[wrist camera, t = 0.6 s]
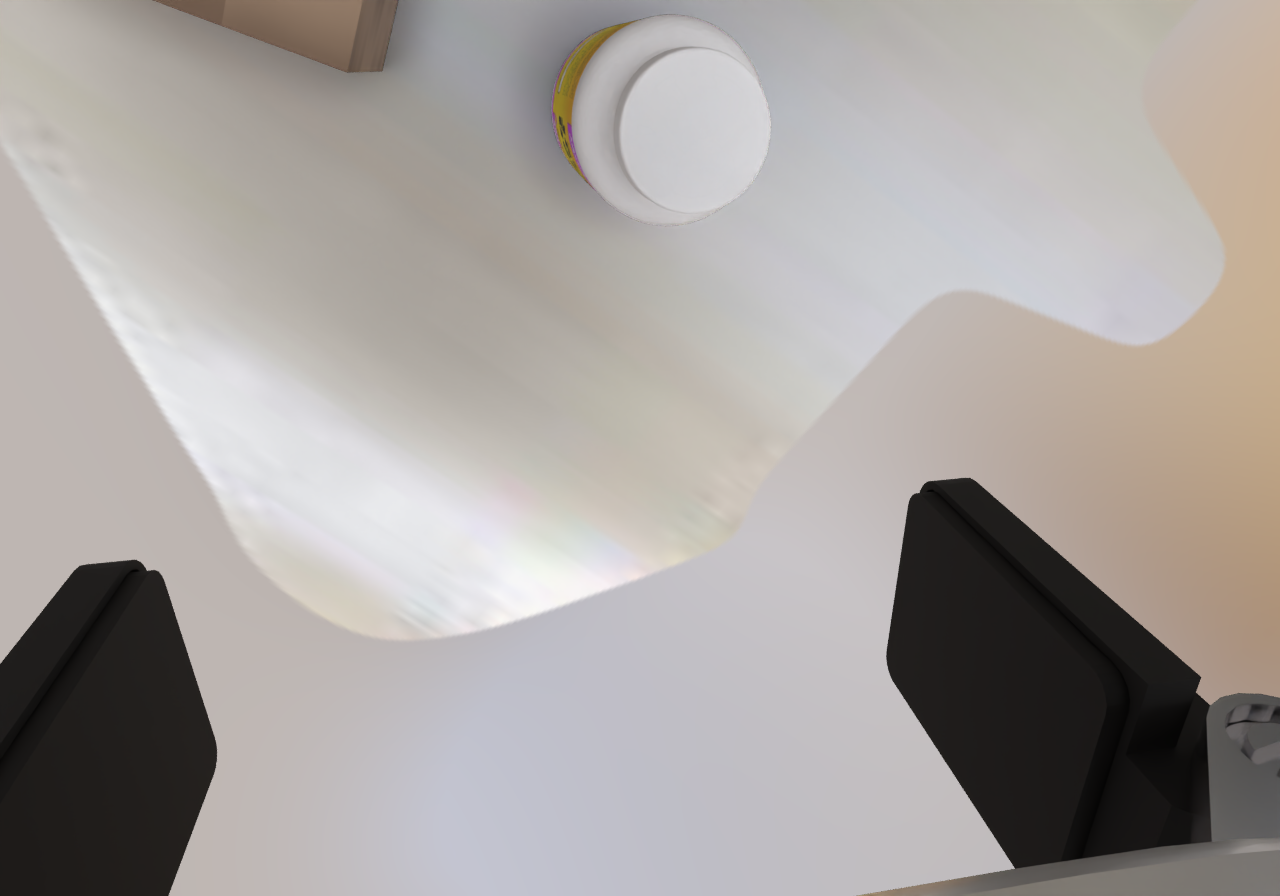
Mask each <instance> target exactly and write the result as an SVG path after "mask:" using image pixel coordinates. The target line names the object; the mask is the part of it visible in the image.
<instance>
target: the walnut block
mask: <svg viewBox="0 0 1280 896" xmlns="http://www.w3.org/2000/svg"><path fill="white" fill-rule="evenodd" d="M154 1H156V2H159V3H162V4H164V5H167V6H170V7H172V8H175V9H178V10H180V11H183V12H186V13H189V14H191V15H194V16H197V17H199V18H202V19H205V20H207V21H210V22H213V23H215V24H218V25H221V26H223V27H226V28H229V29H232V30H234V31H237V32H240V33H242V34H245V35H248V36H250V37H253V38H256V39H258V40H261V41H264V42H267V43H269V44H272V45H275V46H277V47H280V48H283V49H285V50H288V51H291V52H293V53H296V54H299V55H302V56H304V57H307V58H310V59H312V60H315V61H318V62H320V63H323V64H326V65H328V66H331V67H334V68H336V69H339V70H342V71H345V72H373V71H382V70H383V65H384V61H385V57H386V52H387V48H388V44H389V39H390V35H391V31H392V26H393V22H394V17H395V13H396V9H397V4H398V0H154Z"/></svg>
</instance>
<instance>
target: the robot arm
mask: <svg viewBox="0 0 1280 896" xmlns="http://www.w3.org/2000/svg"><path fill="white" fill-rule="evenodd" d="M886 657H887V666H888V670H889V673H890V676H891V678H892V680H893V682H894V683H895V685H896V687H897V688H898V689H899V691H900V692H901V694H902V696H903V697H904V699H905V700H906V702H907V703H908V705H909V706H910V708H911V709H912V711H913V713H914V714H915V716H916V717H917V719H918V720H919V722H920V723H921V725H922V726H923V728H924V729H925V731H926V732H927V734H928V736H929V737H930V738H931V740H932V742H933V743H934V745H935V746H936V748H937V749H938V751H939V752H940V754H941V755H942V757H943V759H944V760H945V762H946V763H947V765H948V766H949V768H950V769H951V771H952V772H953V774H954V775H955V777H956V779H957V780H958V782H959V783H960V785H961V786H962V788H963V789H964V791H965V792H966V794H967V795H968V797H969V798H970V800H971V801H972V803H973V804H974V806H975V808H976V809H977V811H978V812H979V814H980V815H981V817H982V818H983V820H984V822H985V823H986V825H987V826H988V828H989V829H990V831H991V832H992V834H993V835H994V837H995V838H996V840H997V841H998V843H999V844H1000V846H1001V848H1002V849H1003V851H1004V852H1005V854H1006V855H1007V857H1008V858H1009V860H1010V861H1011V863H1012V864H1013V866H1014V868H1015V869H1011V870H1005V871H1000V872H994V873H988V874H983V875H976V876H970V877H964V878H958V879H953V880H946V881H941V882H935V883H929V884H923V885H917V886H911V887H906V888H900V889H893V890H887V891H881V892H876V893H870V894H864V895H858V896H1280V698H1278V697H1273V696H1268V695H1263V694H1245V693H1244V694H1243V693H1238V694H1233V695H1229V696H1224V697H1221V698H1219V699H1218V700H1217V701H1216V702H1214V703H1213V704H1212V705H1209V704H1208V703H1207V702H1206V701H1205V700H1204V699H1203V698H1201V697H1200V696H1199V695H1198V694H1197V693H1196V690H1197V687H1198V685H1199V682H1200V679H1201V677H1200V676H1199V675H1198V674H1197V673H1196V672H1195V671H1193V670H1192V669H1191V668H1190V667H1189V666H1188V665H1186V664H1185V663H1184V662H1183V661H1182V660H1181V659H1180V658H1178V657H1177V656H1176V655H1175V654H1174V653H1173V652H1172V651H1170V650H1169V649H1168V648H1167V647H1165V645H1164V644H1162V643H1161V642H1160V641H1159V640H1158V639H1157V638H1156V637H1154V636H1153V635H1152V634H1151V633H1150V632H1149V631H1147V630H1146V629H1145V628H1144V627H1143V626H1142V625H1140V624H1139V623H1138V622H1137V621H1136V620H1135V619H1134V618H1132V617H1131V616H1130V615H1129V614H1128V613H1127V612H1126V611H1124V610H1123V609H1122V608H1121V607H1120V606H1119V605H1118V604H1116V603H1115V602H1114V601H1113V600H1112V599H1111V598H1109V597H1108V596H1107V595H1106V594H1105V593H1104V592H1102V591H1101V590H1100V589H1099V588H1098V587H1097V586H1096V585H1094V584H1093V583H1092V582H1091V581H1090V580H1089V579H1088V578H1086V577H1085V576H1084V575H1083V574H1082V573H1081V572H1080V571H1078V570H1077V569H1076V568H1075V567H1074V566H1072V564H1070V563H1069V562H1068V561H1067V560H1066V559H1065V558H1063V557H1062V556H1061V555H1060V554H1059V553H1058V552H1057V551H1055V550H1054V549H1053V548H1052V547H1051V546H1050V545H1048V544H1047V543H1046V542H1045V541H1044V540H1043V539H1042V538H1040V537H1039V536H1038V535H1037V534H1036V533H1035V532H1033V531H1032V530H1031V529H1030V528H1029V527H1028V526H1027V525H1026V524H1024V523H1023V522H1022V521H1021V520H1020V519H1019V518H1017V517H1016V516H1015V515H1014V514H1013V513H1012V512H1010V511H1009V510H1008V509H1007V508H1006V507H1005V506H1003V505H1002V504H1001V503H1000V502H999V501H998V500H997V499H996V498H994V497H993V496H992V495H991V494H990V493H989V492H988V491H986V490H985V489H984V488H983V487H982V486H981V485H979V484H978V483H977V482H976V481H974V480H973V479H971V478H959V479H949V480H939V481H929V482H927V483H925V484H924V485H923V487H922V488H921V490H920V493H916V494H914V495H912V497H911V498H910V501H909V504H908V511H907V517H906V524H905V531H904V538H903V544H902V552H901V558H900V565H899V571H898V578H897V585H896V591H895V598H894V605H893V612H892V619H891V626H890V633H889V639H888V646H887V655H886ZM216 762H217V746H216V741H215V737H214V734H213V731H212V728H211V724H210V721H209V718H208V715H207V712H206V709H205V706H204V703H203V700H202V697H201V693H200V691H199V687H198V684H197V681H196V678H195V675H194V672H193V669H192V665H191V662H190V659H189V656H188V653H187V650H186V647H185V644H184V641H183V638H182V634H181V631H180V629H179V625H178V622H177V619H176V616H175V612H174V609H173V606H172V603H171V600H170V597H169V594H168V591H167V588H166V585H165V582H164V579H163V577H162V575H161V574H160V573H159V572H158V571H156V570H151V571H147V570H146V568H145V567H144V565H143V564H142V563H141V562H139V561H137V560H129V561H128V560H127V561H117V562H109V563H108V562H107V563H97V564H87V565H82V566H79V567H78V568H77V569H76V570H74V572H73V573H72V574H71V575H70V577H69V578H68V579H67V581H66V582H65V583H64V584H63V585H62V587H61V588H60V589H59V591H58V592H57V593H56V594H55V596H54V597H53V598H52V599H51V601H50V602H49V603H48V604H47V606H46V607H45V608H44V609H43V611H42V612H41V613H40V615H39V616H38V617H37V618H36V620H35V621H34V622H33V623H32V625H31V626H30V627H29V629H28V630H27V631H26V632H25V633H24V635H23V636H22V637H21V639H20V640H19V641H18V642H17V644H16V645H15V646H14V647H13V649H12V650H11V651H10V652H9V654H8V655H7V656H6V657H5V659H4V660H3V661H2V663H1V664H0V896H168V895H169V893H170V890H171V887H172V885H173V882H174V879H175V877H176V874H177V871H178V868H179V866H180V863H181V861H182V858H183V855H184V852H185V850H186V847H187V845H188V842H189V839H190V837H191V834H192V831H193V829H194V826H195V823H196V820H197V817H198V815H199V812H200V810H201V807H202V804H203V802H204V799H205V796H206V794H207V791H208V788H209V786H210V783H211V780H212V778H213V775H214V772H215V768H216Z"/></svg>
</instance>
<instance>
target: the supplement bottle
mask: <svg viewBox="0 0 1280 896" xmlns="http://www.w3.org/2000/svg"><path fill="white" fill-rule="evenodd" d="M551 115H552V123H553V129H554V133H555V136H556V139H557V142H558V144H559V146H560V148H561V150H562V152H563V154H564V155H565V157H566V158H567V160H568V161H569V163H570V164H571V165H572V166H573V168H574V169H575V170H576V171H577V172H578V173H579V174H580V175H581V176H582V178H583V179H584V180H585V181H586V182H587V183H588V184H589V185H590V186H591V187H592V188H593V189H594V190H595V191H596V192H597V193H598V194H599V195H600V196H601V197H602V198H603V199H604V200H605V201H606V202H607V203H608V204H610V205H611V206H612V207H613V208H615V209H616V210H617V211H619V212H621V213H622V214H624V215H626V216H628V217H630V218H632V219H634V220H637V221H640V222H643V223H647V224H652V225H659V226H675V225H683V224H688V223H692V222H695V221H698V220H701V219H703V218H706V217H708V216H710V215H711V214H713V213H715V212H716V211H718V210H720V209H721V208H722V207H724V206H725V205H727V204H729V203H730V202H732V201H734V200H735V199H736V198H738V197H739V196H740V195H741V194H742V193H743V192H744V191H745V190H746V189H747V188H748V187H749V186H750V185H751V183H752V182H753V181H754V179H755V178H756V176H757V175H758V173H759V171H760V169H761V167H762V165H763V163H764V161H765V158H766V155H767V151H768V148H769V143H770V134H771V119H770V112H769V107H768V103H767V100H766V97H765V94H764V92H763V88H762V85H761V82H760V79H759V76H758V74H757V72H756V70H755V67H754V66H753V64H752V62H751V60H750V59H749V57H748V56H747V54H746V53H745V51H744V50H743V49H742V48H741V47H740V46H739V45H738V43H737V42H736V41H735V40H734V39H733V38H731V37H730V36H729V35H728V34H727V33H725V32H724V31H723V30H721V29H720V28H718V27H716V26H714V25H712V24H710V23H709V22H706V21H703V20H701V19H698V18H694V17H689V16H684V15H674V14H672V15H658V16H652V17H648V18H644V19H640V20H636V21H632V22H628V23H624V24H619V25H615V26H612V27H608V28H605V29H603V30H600V31H598V32H596V33H594V34H592V35H590V36H589V37H587V38H586V39H585V40H583V41H582V42H581V43H580V44H579V45H578V46H577V47H575V49H574V50H573V51H572V52H571V53H570V54H569V56H568V57H567V58H566V60H565V62H564V63H563V65H562V67H561V69H560V71H559V73H558V76H557V78H556V81H555V85H554V89H553V93H552V103H551Z"/></svg>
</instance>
